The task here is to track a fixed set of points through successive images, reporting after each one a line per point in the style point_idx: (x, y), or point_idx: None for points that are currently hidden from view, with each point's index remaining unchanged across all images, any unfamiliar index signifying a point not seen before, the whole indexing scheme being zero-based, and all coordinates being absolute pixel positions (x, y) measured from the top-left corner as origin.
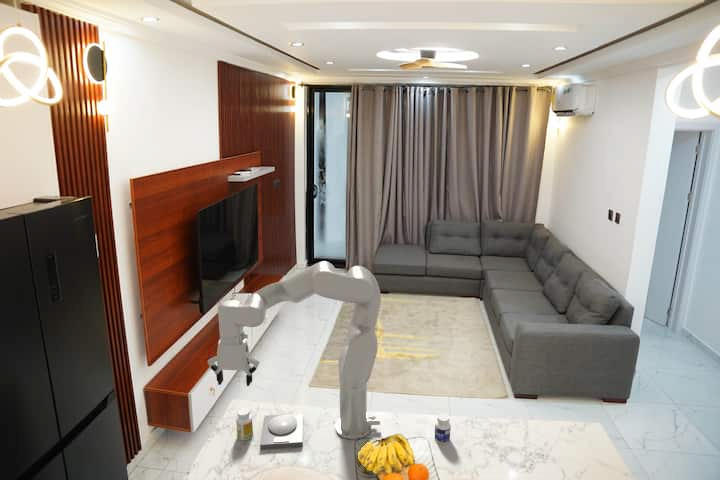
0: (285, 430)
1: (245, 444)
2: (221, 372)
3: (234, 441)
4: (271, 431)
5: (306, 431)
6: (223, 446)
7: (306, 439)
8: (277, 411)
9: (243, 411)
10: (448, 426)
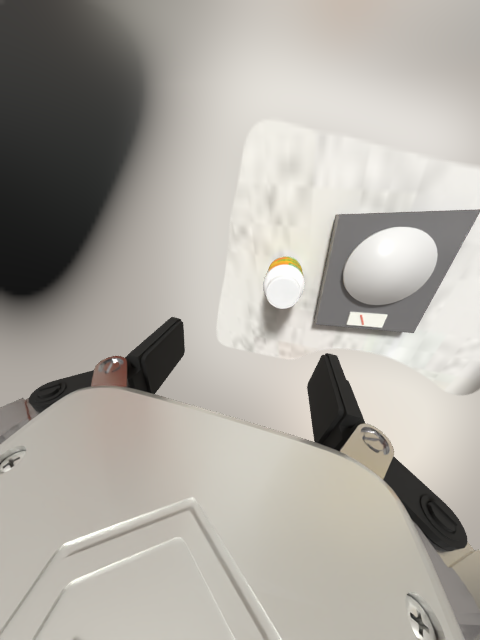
0: (385, 298)
1: None
2: (148, 374)
3: None
4: (347, 291)
5: None
6: (245, 297)
7: None
8: (386, 163)
9: (282, 293)
10: None
